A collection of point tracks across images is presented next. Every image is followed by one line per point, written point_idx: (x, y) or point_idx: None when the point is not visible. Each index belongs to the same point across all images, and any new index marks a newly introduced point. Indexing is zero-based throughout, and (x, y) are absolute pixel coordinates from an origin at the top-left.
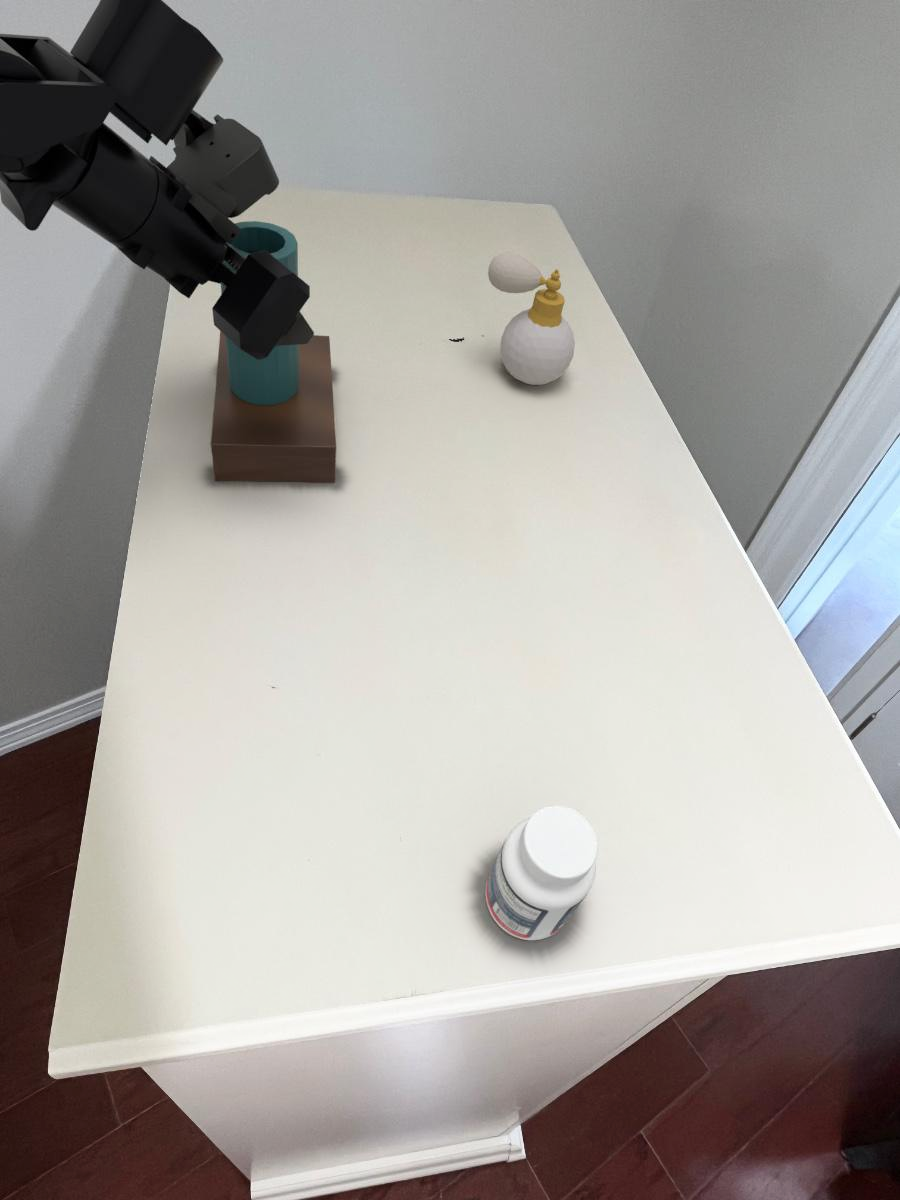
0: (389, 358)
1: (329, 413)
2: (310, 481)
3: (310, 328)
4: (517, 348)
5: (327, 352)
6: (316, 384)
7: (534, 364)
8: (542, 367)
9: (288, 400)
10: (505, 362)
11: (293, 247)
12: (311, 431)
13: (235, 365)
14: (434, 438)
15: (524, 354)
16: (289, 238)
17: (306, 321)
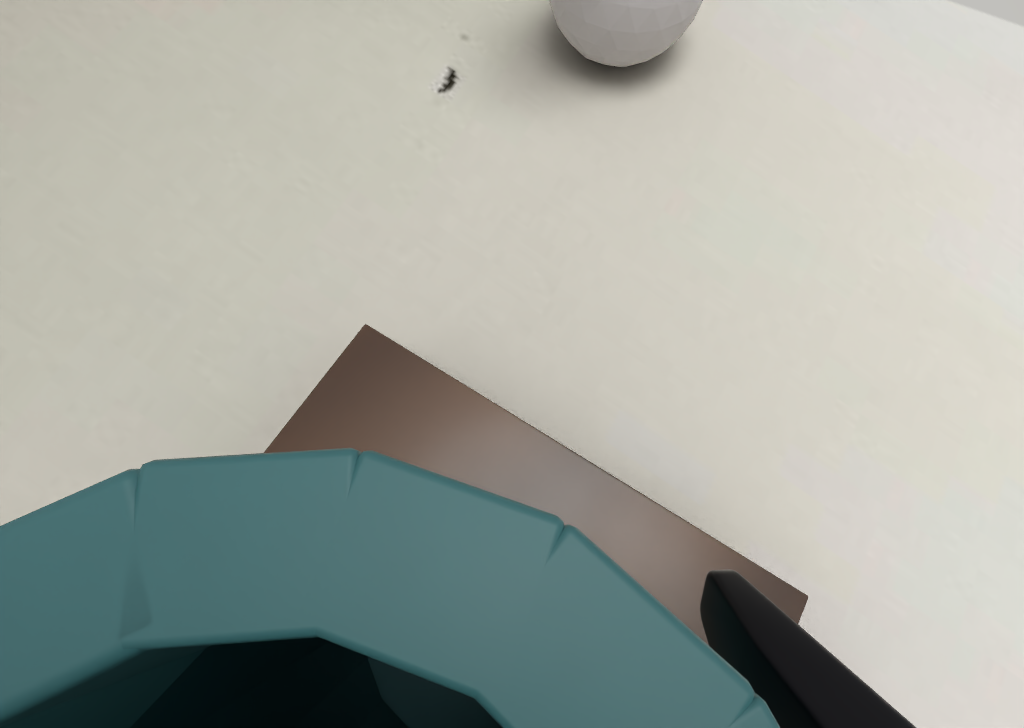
0: (425, 222)
1: (666, 523)
2: None
3: (790, 618)
4: (651, 2)
5: (426, 370)
6: (536, 481)
7: (688, 10)
8: (697, 5)
9: None
10: (612, 51)
11: (697, 685)
12: None
13: None
14: (699, 300)
15: (669, 4)
16: (418, 571)
17: (866, 684)
